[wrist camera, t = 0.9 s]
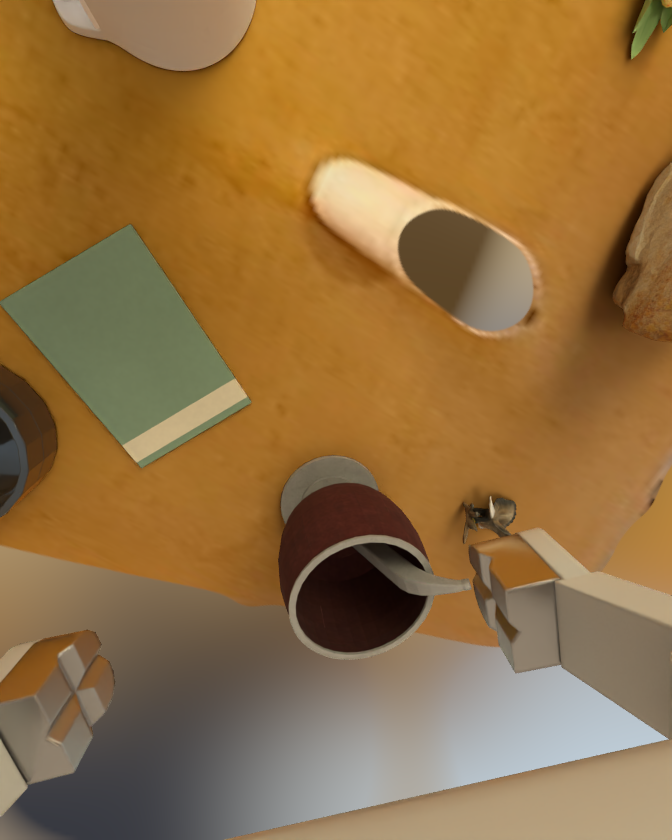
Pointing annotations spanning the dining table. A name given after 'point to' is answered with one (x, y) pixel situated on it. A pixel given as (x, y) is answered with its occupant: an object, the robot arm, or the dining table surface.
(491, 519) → the eagle figurine
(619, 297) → the rough brown rock
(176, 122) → the dining table surface
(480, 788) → the robot arm
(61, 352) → the tea towel
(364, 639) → the mate gourd
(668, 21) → the edible corn
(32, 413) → the pan
